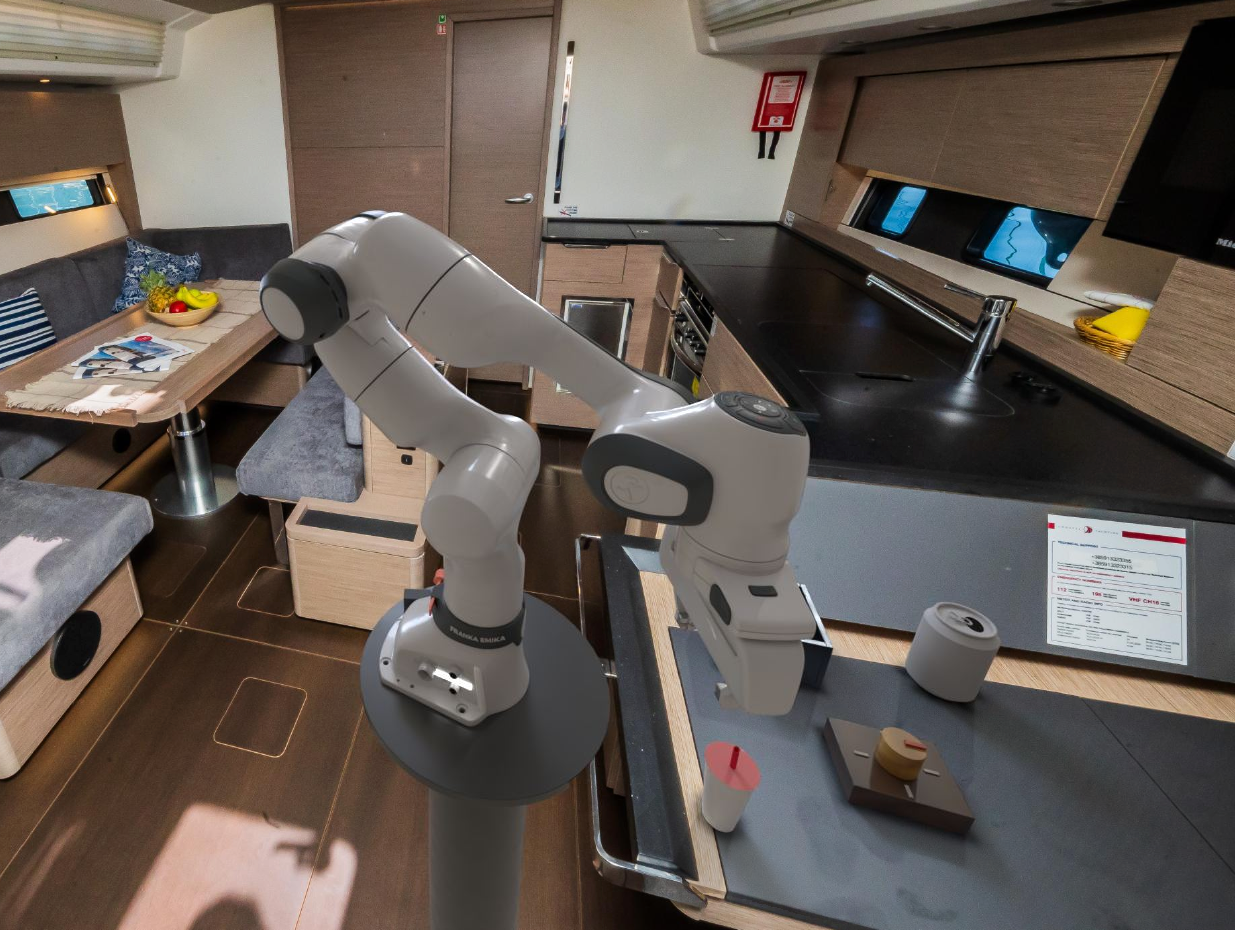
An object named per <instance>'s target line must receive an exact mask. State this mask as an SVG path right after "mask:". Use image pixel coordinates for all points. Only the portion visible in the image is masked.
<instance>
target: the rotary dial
mask: <svg viewBox="0 0 1235 930" xmlns="http://www.w3.org/2000/svg"><path fill="white" fill-rule="evenodd" d="M882 731H883V729H881V728H877V727H872V726H868V725H864V724H859V723H855V722H853V721H852V722H851V721H847V720H844V719H840V718H836V717H831V716H827V718H826V720H825V724H824V727H823V730H822V735H823V738H824V740H825V742H826V746H827V749H828V751H829V753H830V754H829V755H830V756H831V759H832V762H833V765H834V767H835V771H836V773H837V776H838V779H839V782H840V783H841V786H842V790H843V792H844V795H845V798H846V800H847V802H848V803H850V804H855V805H858V806H861V807H864V808H868V809H871V810H875V811H878V812H881V813H885V814H889V815H892V816H893V815H894V816H897V817H900V818H903V819H907V820H910V821H913V822H916V823H917V822H918V823H921V824H924V825H927V826H930V827H934V828H938V829H942V830H944V831H949V832H952V833H956V834H959V835H962V836H968V833H969V832H970V830H971V828H972V826H973V824H974V822H975V821H976V818H975V816H974V814H973V812H972V810H971V808H970V806H969V805H968V802H967V801H966V800H965V796H964V795H963V794H962V791H961V789H960V788H959V786H958V784H957V782H956V781H955V778H954V777H953V775H952V773H951V771H950V769H949V767H948V766H947V764H946V762H945V760H944V758H943V756H942V754H941V753H940V751H939V749H938V747H937V745H936V743H935V742H932V741H929V740H924V739H920V738H917V739H918V740H919V741H920V742H921V743H922V744H924V745H925V746H926V748H927V749H926V752H927V757H926V759H925V761H924V763H923V765H922V768H921V770H920V772H919V774H918V777H917V778H916V779H914V780H904V779H901V778H898V777H896V776H894V775H892V774H891V773H889V772H888V771H886V770H885V769H884V768H883V767H882V766H881V765H880V764H879V763H878V761H877V760H876V758H875V755H874V751H875V748H876V746H877V743H878V741H879V738H880V736H881V733H882Z"/></svg>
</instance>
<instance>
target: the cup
mask: <svg viewBox="0 0 1235 930" xmlns="http://www.w3.org/2000/svg"><path fill="white" fill-rule="evenodd" d="M704 760H705V762H704V773H703V784H702V785H703V786H702V800H701V801H702V802H701V812H702V816H703V817H704V819H705V821H706V822H707V823H708V824H709V825H710V826H711V827H712V828H713V829H715V830H716V831H719V832H722V833H730V832H732V831H734V829H736V826H737V824H738V822H739V820H740V819H741V817H742V815H743V813H744V811H745V809H746V807H747V805H748V804H749V801H750V799H751V797H752V795H753V794H754V792H755V790H756V788H758V786H759V785H760V783H761V771H760V768H759V766H758V765H757V763H756V762H755V760H754V759H753V758H752V756H750V755H749V753H747V751H745V750H743V749H742V748H741V747H739V746H738V745H735V744H734V743H731V742H728V741H727V742H726V741H721V740H719V741H718V740H717V741H713V742H711V743H709V744H708V745H706V748H705V749H704Z"/></svg>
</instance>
